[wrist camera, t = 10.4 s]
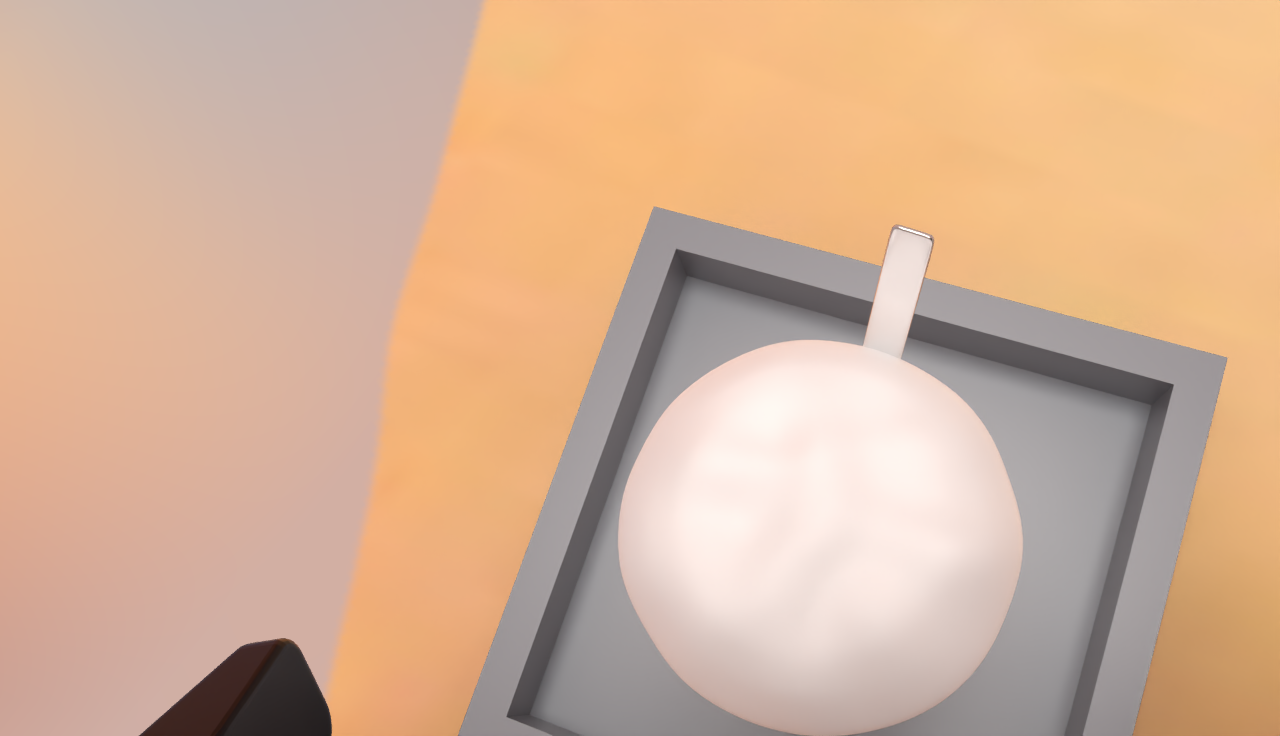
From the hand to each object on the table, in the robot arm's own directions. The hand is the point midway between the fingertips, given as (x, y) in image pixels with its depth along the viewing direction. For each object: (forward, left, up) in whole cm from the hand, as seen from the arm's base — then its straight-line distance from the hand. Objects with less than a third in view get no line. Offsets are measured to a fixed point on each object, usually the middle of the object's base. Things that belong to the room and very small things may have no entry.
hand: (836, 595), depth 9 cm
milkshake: (+1, +1, -12) cm, 12 cm away
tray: (+1, +1, -12) cm, 13 cm away
